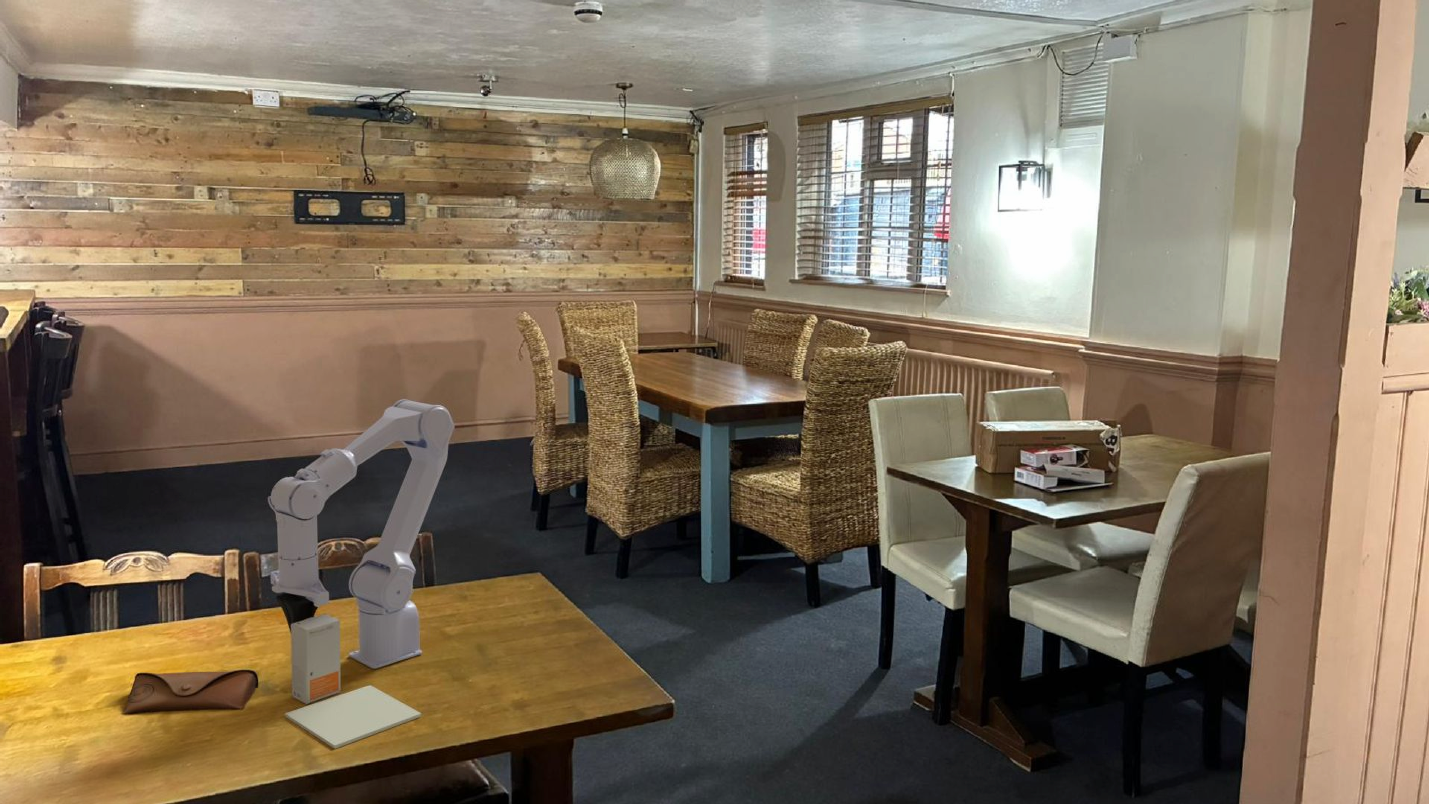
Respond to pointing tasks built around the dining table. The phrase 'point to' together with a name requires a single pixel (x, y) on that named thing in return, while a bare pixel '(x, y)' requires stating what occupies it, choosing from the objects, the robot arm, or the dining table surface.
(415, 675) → the dining table surface
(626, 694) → the dining table surface
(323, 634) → the skincare box
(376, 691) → the mat
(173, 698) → the sunglasses case
